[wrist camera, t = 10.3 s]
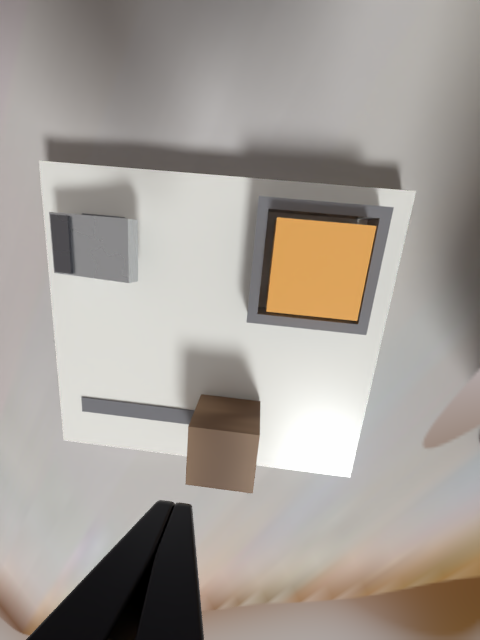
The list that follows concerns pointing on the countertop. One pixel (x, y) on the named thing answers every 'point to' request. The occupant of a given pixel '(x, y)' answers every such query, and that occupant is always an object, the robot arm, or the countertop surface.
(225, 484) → the slider knob
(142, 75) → the countertop surface
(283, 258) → the push button
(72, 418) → the control panel
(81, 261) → the rocker switch
